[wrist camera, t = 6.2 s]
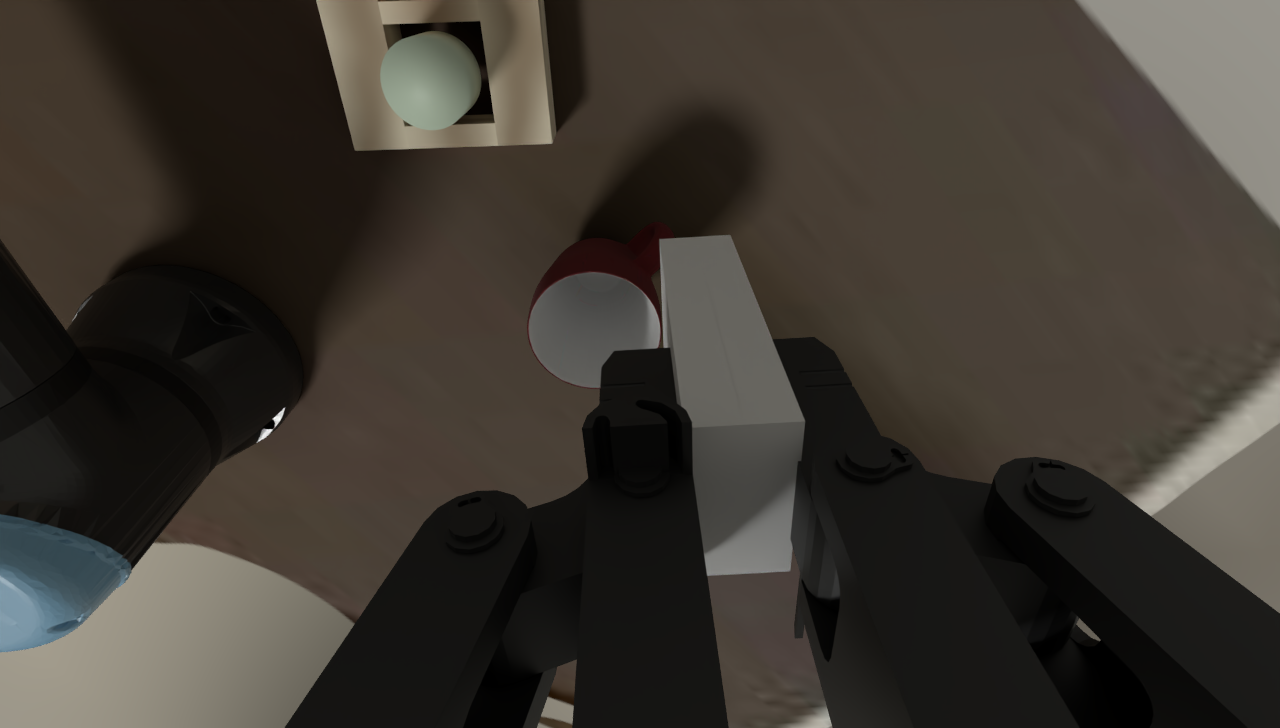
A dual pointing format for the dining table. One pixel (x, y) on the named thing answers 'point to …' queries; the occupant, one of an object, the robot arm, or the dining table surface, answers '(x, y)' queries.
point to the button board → (515, 57)
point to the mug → (597, 305)
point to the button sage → (430, 79)
